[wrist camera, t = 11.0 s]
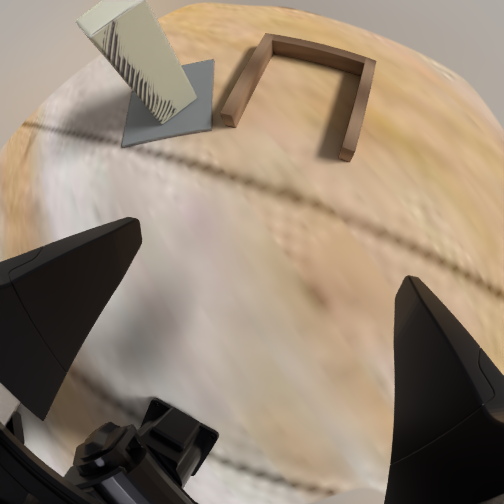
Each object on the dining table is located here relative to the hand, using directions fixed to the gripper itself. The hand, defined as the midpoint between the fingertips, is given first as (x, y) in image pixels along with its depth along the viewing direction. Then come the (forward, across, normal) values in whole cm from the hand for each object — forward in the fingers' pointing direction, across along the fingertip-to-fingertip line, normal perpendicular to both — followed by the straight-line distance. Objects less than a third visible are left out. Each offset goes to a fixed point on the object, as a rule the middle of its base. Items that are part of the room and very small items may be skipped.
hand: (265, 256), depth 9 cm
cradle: (+20, +1, -4) cm, 20 cm away
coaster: (+18, +14, -3) cm, 23 cm away
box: (+18, +13, -3) cm, 23 cm away
